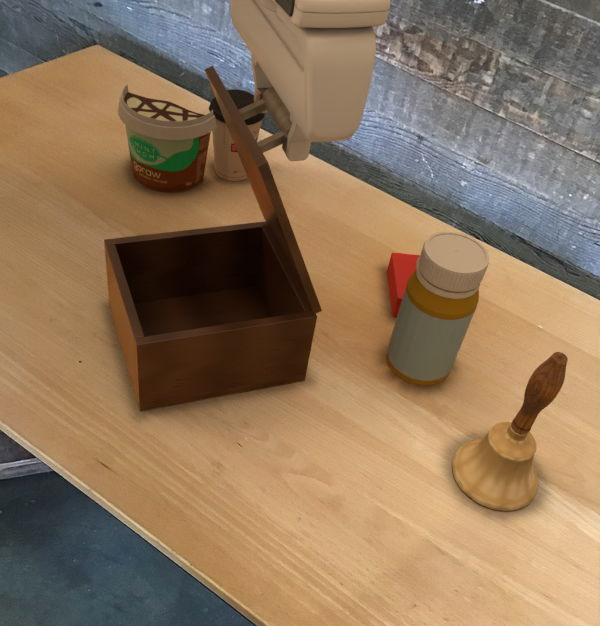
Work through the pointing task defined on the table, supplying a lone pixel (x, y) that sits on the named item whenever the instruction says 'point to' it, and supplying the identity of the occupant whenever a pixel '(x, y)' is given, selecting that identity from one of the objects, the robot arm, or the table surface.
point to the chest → (207, 313)
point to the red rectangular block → (399, 277)
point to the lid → (265, 172)
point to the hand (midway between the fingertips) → (279, 132)
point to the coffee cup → (223, 144)
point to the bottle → (437, 308)
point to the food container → (165, 142)
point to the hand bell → (509, 447)
